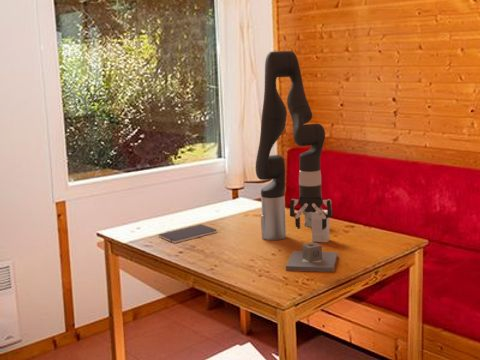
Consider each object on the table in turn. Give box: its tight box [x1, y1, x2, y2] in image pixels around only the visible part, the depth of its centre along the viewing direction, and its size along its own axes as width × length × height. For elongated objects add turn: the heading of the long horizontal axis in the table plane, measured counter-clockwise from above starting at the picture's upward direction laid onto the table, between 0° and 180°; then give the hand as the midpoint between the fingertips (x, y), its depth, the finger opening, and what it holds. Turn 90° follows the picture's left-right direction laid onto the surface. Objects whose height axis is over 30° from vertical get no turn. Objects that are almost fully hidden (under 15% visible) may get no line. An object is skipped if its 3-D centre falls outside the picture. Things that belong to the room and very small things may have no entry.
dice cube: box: [301, 241, 323, 262], centre depth 210 cm, size 5×5×5 cm
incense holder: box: [302, 211, 312, 228], centre depth 254 cm, size 8×6×8 cm
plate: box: [285, 250, 339, 273], centre depth 210 cm, size 16×16×2 cm
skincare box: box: [311, 209, 331, 243], centre depth 234 cm, size 6×4×12 cm
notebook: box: [158, 224, 217, 244], centre depth 253 cm, size 13×2×21 cm
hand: (311, 228), depth 208 cm, fingers open, 8 cm apart
